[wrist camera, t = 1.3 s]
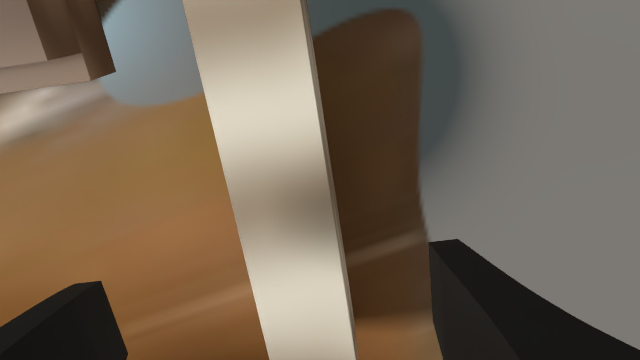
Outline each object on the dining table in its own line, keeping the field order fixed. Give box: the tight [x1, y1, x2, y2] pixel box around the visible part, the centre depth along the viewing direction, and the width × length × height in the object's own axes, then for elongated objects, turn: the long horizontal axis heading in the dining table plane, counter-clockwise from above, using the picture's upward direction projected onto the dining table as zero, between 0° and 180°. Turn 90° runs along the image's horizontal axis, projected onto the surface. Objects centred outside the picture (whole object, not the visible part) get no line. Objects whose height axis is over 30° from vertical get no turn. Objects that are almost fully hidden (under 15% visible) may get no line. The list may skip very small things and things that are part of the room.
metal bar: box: [182, 0, 358, 360], centre depth 16 cm, size 16×3×5 cm, turn 9°
